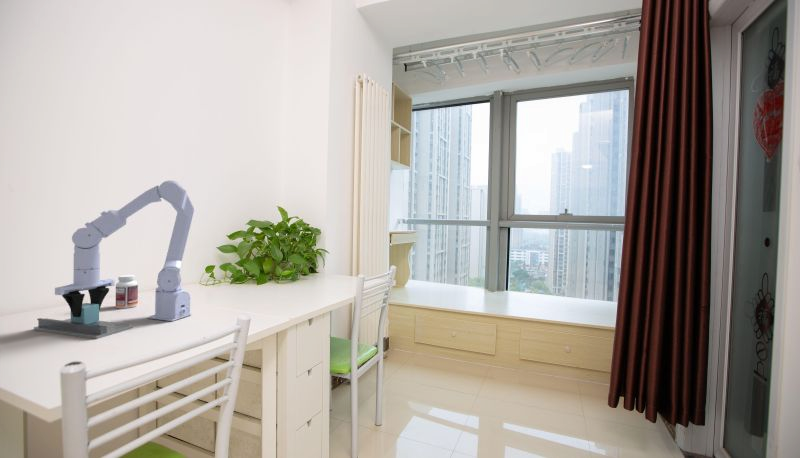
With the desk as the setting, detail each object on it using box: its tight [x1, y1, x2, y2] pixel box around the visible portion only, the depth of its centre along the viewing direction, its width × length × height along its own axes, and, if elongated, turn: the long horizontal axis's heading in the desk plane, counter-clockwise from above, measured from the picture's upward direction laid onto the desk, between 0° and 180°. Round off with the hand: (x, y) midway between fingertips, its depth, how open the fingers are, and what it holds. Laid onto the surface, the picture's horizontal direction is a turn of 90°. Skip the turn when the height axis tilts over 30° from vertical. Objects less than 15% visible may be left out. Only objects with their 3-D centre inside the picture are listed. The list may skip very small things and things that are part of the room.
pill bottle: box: [115, 274, 139, 309], centre depth 122 cm, size 6×6×11 cm
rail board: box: [33, 317, 134, 340], centre depth 98 cm, size 22×10×3 cm, turn 78°
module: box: [70, 302, 100, 324], centre depth 101 cm, size 5×4×5 cm
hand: (86, 314), depth 101 cm, fingers closed on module, 4 cm apart
